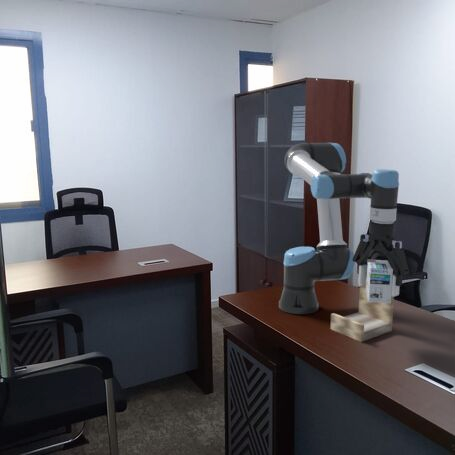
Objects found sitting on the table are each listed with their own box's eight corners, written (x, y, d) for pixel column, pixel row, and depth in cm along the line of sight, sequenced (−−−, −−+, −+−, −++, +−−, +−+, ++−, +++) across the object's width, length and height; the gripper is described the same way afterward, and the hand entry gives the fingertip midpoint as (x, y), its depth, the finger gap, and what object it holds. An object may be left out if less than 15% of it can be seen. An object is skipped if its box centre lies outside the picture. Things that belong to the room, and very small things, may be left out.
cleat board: (330, 329, 157) (332, 283, 154) (361, 319, 165) (362, 276, 163) (360, 342, 146) (363, 293, 143) (391, 330, 155) (394, 285, 152)
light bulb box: (391, 303, 138) (393, 269, 135) (368, 302, 139) (370, 268, 137) (386, 292, 148) (388, 259, 146) (364, 290, 149) (366, 258, 147)
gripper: (343, 216, 146) (339, 282, 150) (410, 229, 127) (404, 303, 131) (358, 214, 150) (355, 278, 155) (426, 226, 131) (419, 298, 135)
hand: (377, 289), depth 143 cm, fingers closed on light bulb box, 12 cm apart
